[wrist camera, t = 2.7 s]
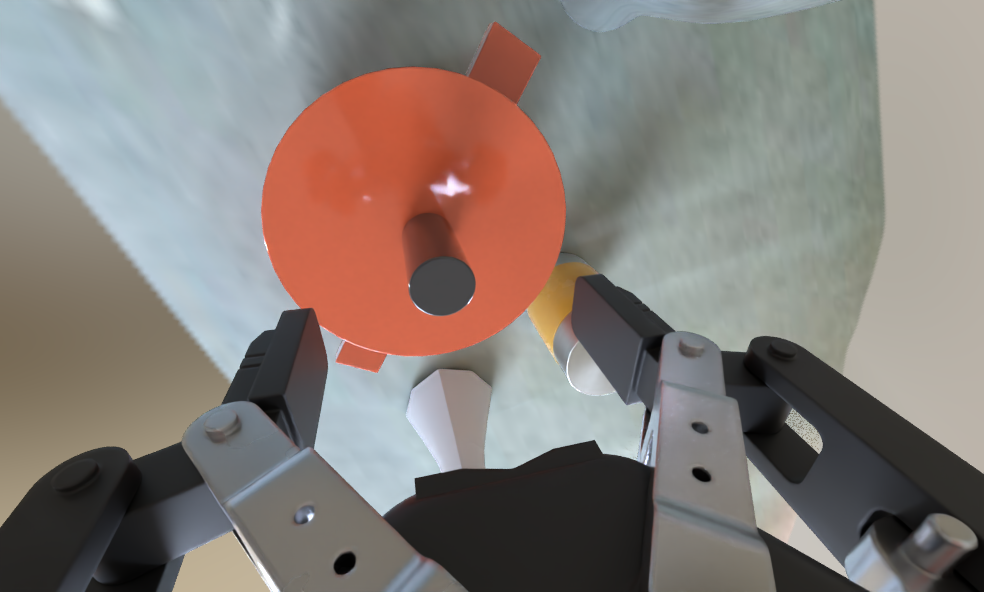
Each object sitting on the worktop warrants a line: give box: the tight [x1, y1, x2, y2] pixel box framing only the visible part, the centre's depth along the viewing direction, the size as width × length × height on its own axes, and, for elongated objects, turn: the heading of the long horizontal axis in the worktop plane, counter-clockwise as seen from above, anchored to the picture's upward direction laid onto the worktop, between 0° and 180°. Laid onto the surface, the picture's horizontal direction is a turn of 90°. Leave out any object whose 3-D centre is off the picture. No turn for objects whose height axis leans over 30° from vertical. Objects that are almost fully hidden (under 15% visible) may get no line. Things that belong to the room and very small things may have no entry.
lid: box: [261, 66, 566, 356], centre depth 16 cm, size 14×14×6 cm
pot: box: [336, 22, 541, 373], centre depth 22 cm, size 13×18×8 cm
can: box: [526, 253, 616, 396], centre depth 27 cm, size 6×6×9 cm
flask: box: [406, 369, 492, 473], centre depth 30 cm, size 7×7×10 cm
